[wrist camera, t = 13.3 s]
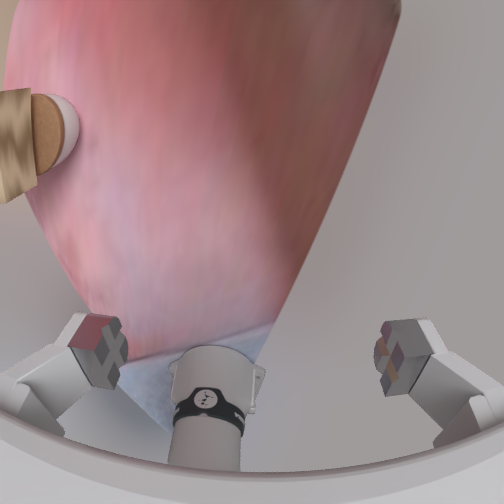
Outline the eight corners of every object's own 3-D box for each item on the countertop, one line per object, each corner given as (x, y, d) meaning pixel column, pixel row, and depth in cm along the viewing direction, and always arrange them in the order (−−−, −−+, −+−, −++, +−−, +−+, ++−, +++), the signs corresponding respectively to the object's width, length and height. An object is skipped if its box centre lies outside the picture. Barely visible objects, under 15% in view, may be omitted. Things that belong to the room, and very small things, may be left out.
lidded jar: (101, 145, 35) (63, 160, 27) (50, 172, 37) (11, 192, 29) (80, 77, 31) (38, 78, 22) (30, 111, 32) (-12, 121, 24)
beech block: (37, 185, 28) (6, 203, 23) (17, 186, 28) (-14, 204, 23) (30, 87, 23) (-5, 92, 17) (9, 94, 23) (-25, 101, 17)
